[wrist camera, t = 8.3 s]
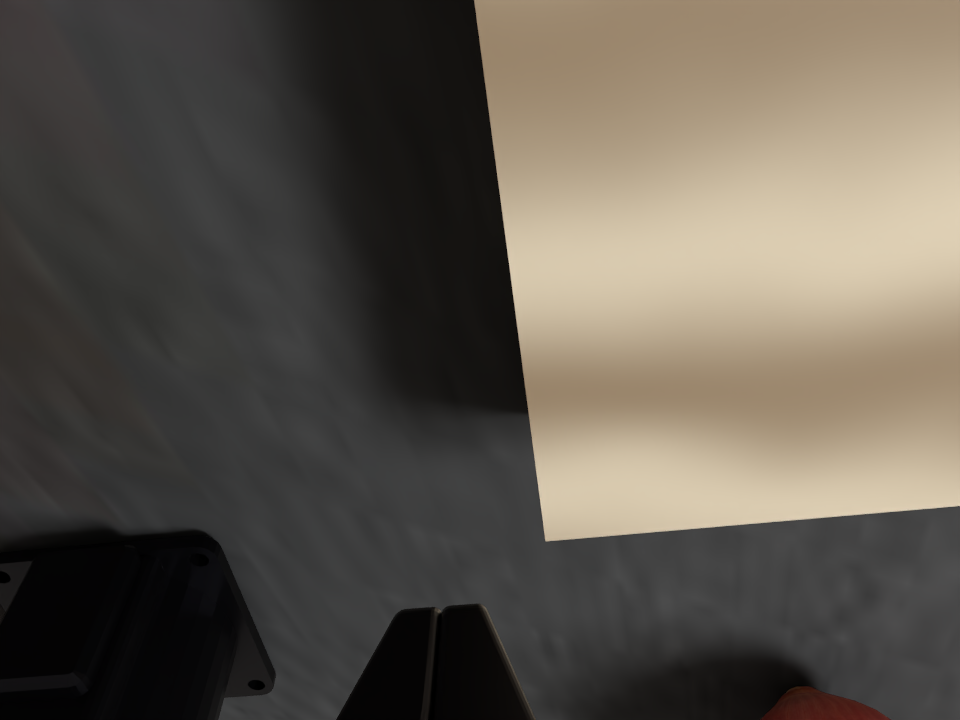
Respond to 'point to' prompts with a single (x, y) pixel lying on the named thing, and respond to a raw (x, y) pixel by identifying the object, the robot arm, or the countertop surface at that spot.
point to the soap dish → (731, 255)
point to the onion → (819, 707)
